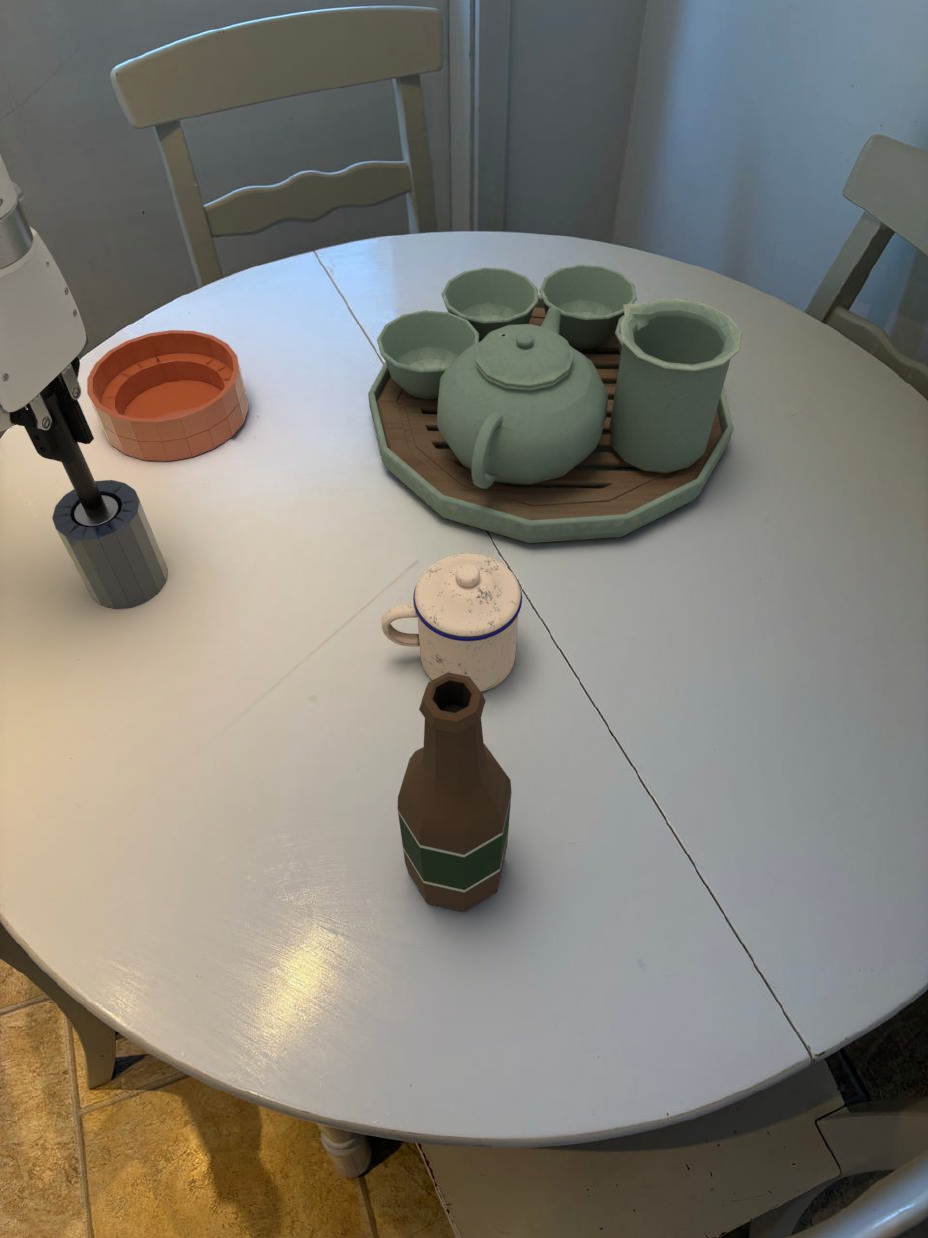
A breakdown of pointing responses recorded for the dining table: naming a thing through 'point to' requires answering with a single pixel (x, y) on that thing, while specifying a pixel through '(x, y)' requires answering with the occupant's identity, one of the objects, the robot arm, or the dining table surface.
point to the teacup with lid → (463, 619)
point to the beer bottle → (454, 800)
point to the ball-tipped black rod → (81, 474)
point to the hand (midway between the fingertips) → (67, 447)
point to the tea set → (554, 403)
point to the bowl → (168, 395)
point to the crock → (113, 549)
